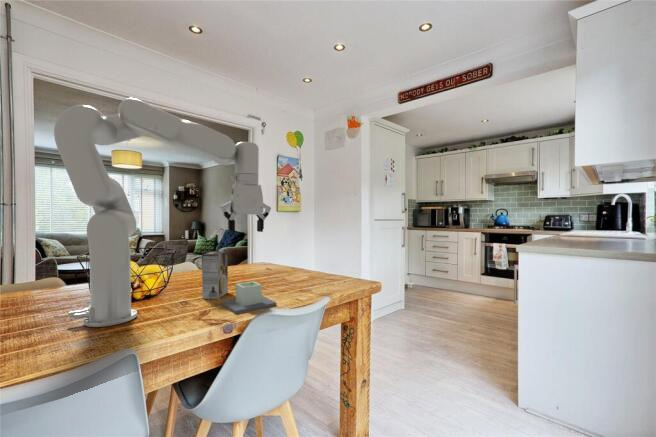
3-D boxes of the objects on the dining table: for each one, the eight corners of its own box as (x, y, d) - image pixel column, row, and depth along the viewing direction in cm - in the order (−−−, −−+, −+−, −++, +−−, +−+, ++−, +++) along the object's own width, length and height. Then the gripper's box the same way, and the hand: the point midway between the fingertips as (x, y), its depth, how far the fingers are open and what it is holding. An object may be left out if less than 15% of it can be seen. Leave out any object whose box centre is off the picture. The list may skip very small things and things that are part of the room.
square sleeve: (243, 306, 97) (242, 287, 97) (235, 301, 102) (235, 283, 102) (261, 302, 101) (261, 284, 101) (253, 298, 106) (253, 281, 106)
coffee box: (212, 292, 118) (211, 251, 118) (228, 292, 118) (228, 251, 118) (201, 299, 109) (201, 254, 109) (219, 299, 109) (219, 254, 109)
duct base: (235, 314, 92) (235, 296, 92) (221, 304, 102) (221, 288, 102) (276, 305, 101) (276, 289, 101) (260, 297, 111) (260, 282, 110)
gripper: (224, 177, 92) (224, 233, 93) (275, 181, 103) (275, 231, 103) (216, 179, 98) (216, 232, 99) (265, 183, 109) (265, 230, 109)
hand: (246, 232), depth 101 cm, fingers open, 9 cm apart
